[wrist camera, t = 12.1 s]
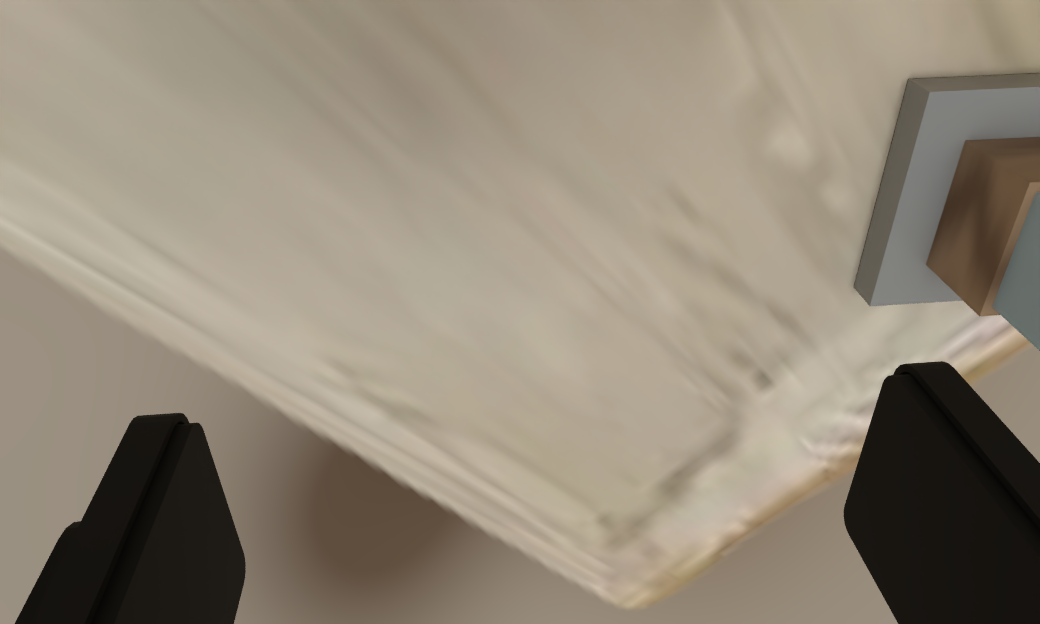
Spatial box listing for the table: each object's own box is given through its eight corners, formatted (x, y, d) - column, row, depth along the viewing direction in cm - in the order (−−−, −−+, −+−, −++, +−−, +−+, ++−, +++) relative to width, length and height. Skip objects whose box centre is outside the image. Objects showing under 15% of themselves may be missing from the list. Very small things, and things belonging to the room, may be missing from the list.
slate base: (908, 78, 38) (930, 91, 36) (1140, 68, 39) (1171, 80, 37) (853, 287, 44) (869, 306, 43) (1052, 275, 45) (1076, 293, 44)
